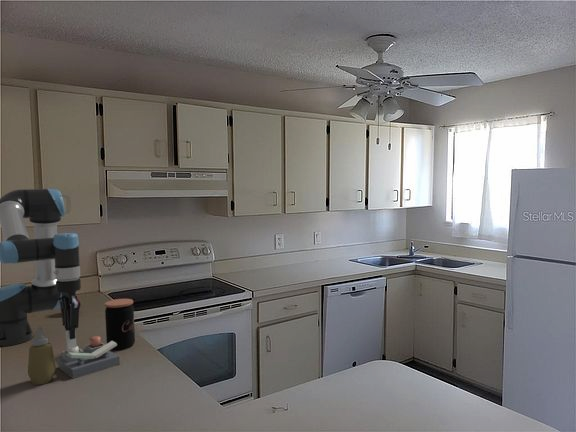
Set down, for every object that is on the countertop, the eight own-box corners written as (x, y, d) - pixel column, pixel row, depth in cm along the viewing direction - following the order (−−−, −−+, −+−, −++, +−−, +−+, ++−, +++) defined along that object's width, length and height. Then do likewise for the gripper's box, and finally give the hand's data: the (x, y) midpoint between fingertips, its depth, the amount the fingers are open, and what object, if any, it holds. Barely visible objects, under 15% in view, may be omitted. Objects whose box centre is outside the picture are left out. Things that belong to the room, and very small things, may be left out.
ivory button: (66, 357, 156) (65, 347, 156) (76, 354, 159) (76, 344, 159) (69, 359, 154) (69, 350, 154) (80, 356, 157) (80, 347, 156)
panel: (58, 367, 156) (57, 352, 156) (103, 354, 168) (102, 340, 167) (73, 378, 147) (72, 362, 146) (119, 364, 158) (118, 349, 158)
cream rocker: (93, 357, 156) (91, 353, 156) (113, 344, 162) (111, 340, 161) (97, 360, 154) (95, 355, 153) (118, 347, 159) (116, 343, 159)
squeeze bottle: (61, 377, 147) (59, 325, 146) (41, 388, 140) (38, 332, 139) (43, 374, 150) (40, 323, 149) (22, 385, 143) (19, 330, 141)
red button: (88, 346, 162) (88, 337, 162) (98, 344, 165) (98, 335, 164) (92, 349, 160) (92, 339, 159) (102, 346, 162) (102, 337, 162)
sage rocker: (66, 357, 150) (68, 352, 150) (89, 358, 156) (91, 353, 156) (70, 360, 147) (72, 355, 148) (93, 361, 153) (95, 355, 153)
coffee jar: (125, 351, 171) (123, 305, 170) (101, 349, 173) (99, 305, 172) (140, 341, 181) (138, 299, 180) (116, 340, 183) (115, 298, 182)
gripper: (49, 278, 150) (53, 346, 151) (63, 283, 141) (66, 355, 142) (72, 275, 155) (75, 340, 156) (87, 279, 146) (90, 349, 147)
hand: (71, 347), depth 149 cm, fingers closed
